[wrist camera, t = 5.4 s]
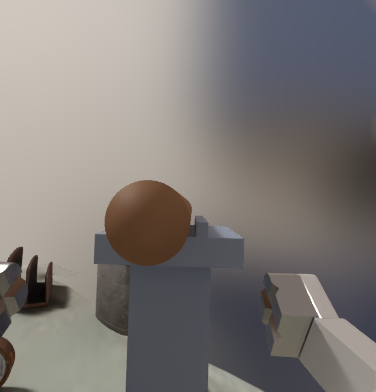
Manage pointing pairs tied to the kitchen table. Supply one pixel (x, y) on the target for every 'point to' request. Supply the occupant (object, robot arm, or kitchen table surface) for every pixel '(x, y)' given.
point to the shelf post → (173, 309)
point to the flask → (113, 296)
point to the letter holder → (34, 281)
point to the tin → (6, 359)
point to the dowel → (147, 222)
